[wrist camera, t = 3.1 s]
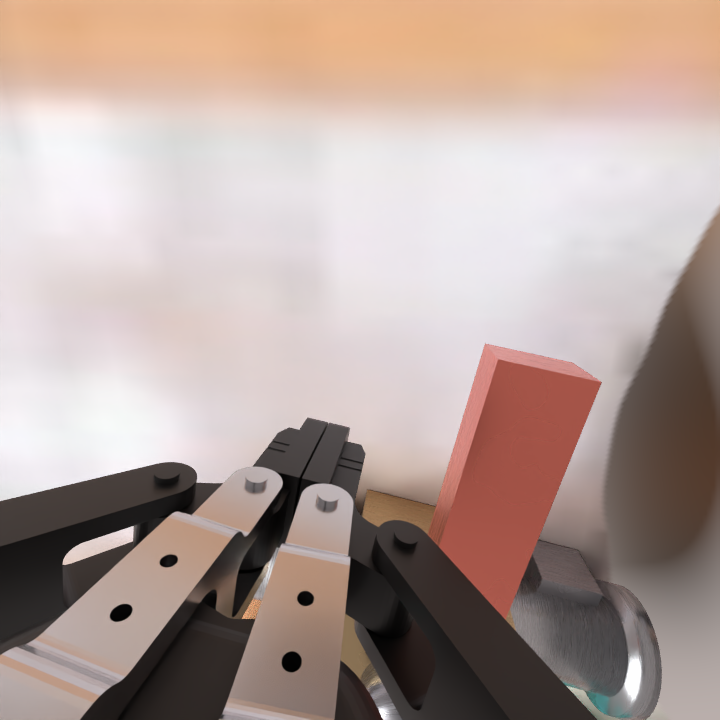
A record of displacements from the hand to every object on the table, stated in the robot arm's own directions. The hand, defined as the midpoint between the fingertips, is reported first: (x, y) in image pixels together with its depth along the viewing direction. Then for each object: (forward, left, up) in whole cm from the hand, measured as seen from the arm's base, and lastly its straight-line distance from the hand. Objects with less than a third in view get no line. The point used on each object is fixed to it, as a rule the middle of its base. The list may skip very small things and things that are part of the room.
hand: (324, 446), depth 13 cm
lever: (+4, +6, 0) cm, 7 cm away
